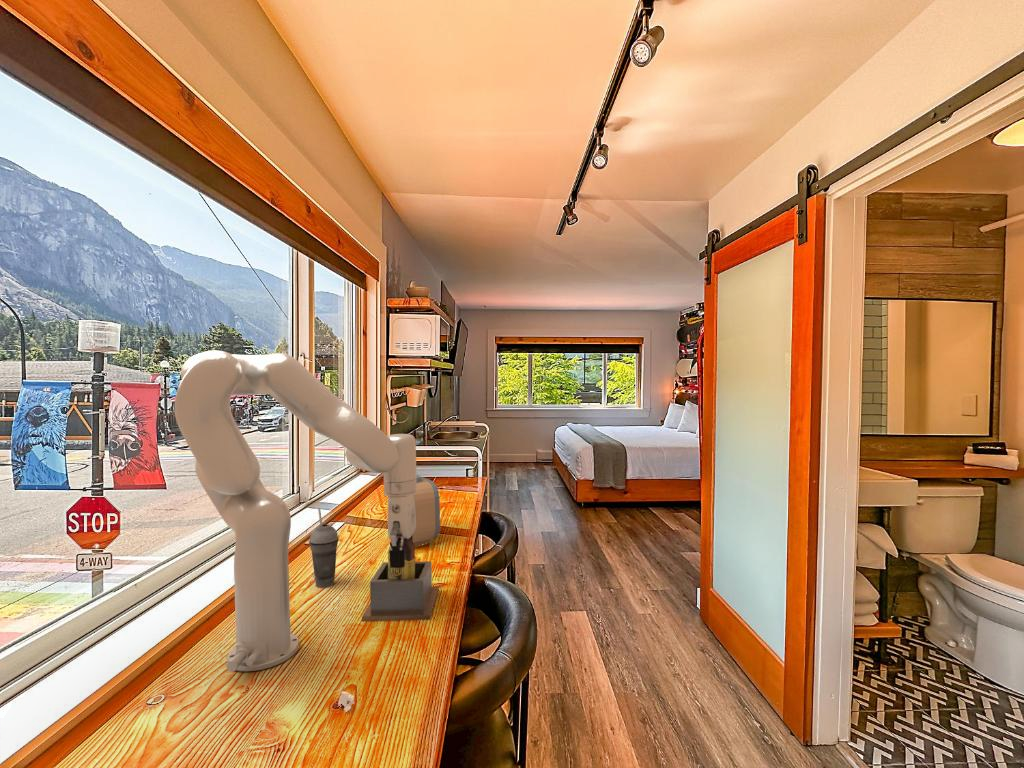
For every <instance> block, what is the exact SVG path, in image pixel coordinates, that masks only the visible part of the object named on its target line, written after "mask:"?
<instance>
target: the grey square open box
mask: <svg viewBox="0 0 1024 768" xmlns="http://www.w3.org/2000/svg"><path fill="white" fill-rule="evenodd" d="M432 573H433V572H432V561H431V560H430V561H429V560H426V561H415V579H388V561H387V562H386V561H385V562H384V561H383V562H382V563H381V564H380V566H379V568H378V569H377V571H376V572H375V573H374V576H373V577H372V579H371V580H370V582H369V584H370V585H369V586H370V587H369V594H370V598H369V599H370V601H369V604H368V605H367V607H366V609H365V610H364V613H362V616H361V621H362V622H373V621H375V622H377V621H378V622H380V621H412V620H415V621H417V620H419V621H420V620H423V621H425V620H427V621H428V620H431V618H432V614H433V611H434V608H435V605H436V602H437V597H438V595H439V592H440V586H433V581H432V579H433V578H432V577H433V576H432Z"/></svg>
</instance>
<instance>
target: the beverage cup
mask: <svg viewBox="0 0 1024 768" xmlns="http://www.w3.org/2000/svg"><path fill="white" fill-rule="evenodd" d="M317 510H318V519H319V525H318V526H316V527H315V528H314V529H313V530H312V531H311V533H310V536H309V542H308V544H309V547H310V552H311V558H312V567H313V574H314V577H313V578H314V581H315V582H314V583H315V587H316V588H318V589H319V588H320V589H325V588H329V587H331V586H333V585H334V584H335V578H336V563H337V562H336V561H337V548H338V544H339V535H338V532H337V530H336V529H335V527H333V526H332V525H330V524H326V523H325V524H323V521H322V512H321V507H318V508H317Z"/></svg>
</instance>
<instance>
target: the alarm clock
mask: <svg viewBox="0 0 1024 768" xmlns="http://www.w3.org/2000/svg"><path fill="white" fill-rule="evenodd" d="M416 483H417V492H416V493H415V494H414V499H415V513H416V529H415V531H414V533H413V534H412V536H413V543H414V545H415V546H416V547H420V546H423V545H422V544H425V545H427V544H426V543H429V544H431V543H430V542H432V543H433V540H435V539H436V538H438V537H439V535H440V529H441V516H440V515H441V511H440V509H441V507H440V505H441V504H440V494H439V489H438V487H437V484H436V483H435V482H434V481H432V480H431V479H429V478H426V477H424V476H420V474H417V473H416ZM419 545H420V546H419Z"/></svg>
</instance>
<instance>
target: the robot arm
mask: <svg viewBox="0 0 1024 768" xmlns="http://www.w3.org/2000/svg"><path fill="white" fill-rule="evenodd" d="M180 371H181V372H180V377H181V381H180V383H179V384H178V387H177V390H176V395H175V399H174V417H175V420H176V424H177V425H178V426H177V427H178V428H179V431H180V433H181V435H182V437H183V439H184V440H185V442H186V444H187V446H188V448H189V450H190V452H191V453H192V455H193V457H194V459H195V460H196V461H195V465H194V466H195V467H194V468H195V474H196V476H197V478H198V481H199V482H200V484H201V486H202V488H203V489H204V491H205V493H206V494H207V496H208V497H209V499H210V501H211V502H212V504H213V505H214V507H215V509H216V510H217V512H218V514H219V515H220V517H221V519H223V521H224V522H225V523H224V524H226V525H227V527H229V528H230V530H232V531H233V532H234V533H235V547H234V558H233V578H234V579H233V581H234V608H235V609H234V610H235V612H234V613H235V645H234V647H232V649H230V651H229V652H228V654H227V655H226V657H227V659H226V670H227V671H229V672H230V673H231V672H235V671H238V672H255V671H262V670H266V669H269V668H272V667H275V666H277V665H280V664H282V663H284V662H286V661H288V659H290V658H292V656H294V655H295V654H296V653H297V652H298V650H299V648H300V640H299V637H298V636H297V635H296V634H294V633H291V610H290V609H291V606H290V605H291V603H290V570H289V545H290V537H291V535H290V534H291V527H292V526H291V525H292V520H291V519H292V517H291V513H290V509H289V507H288V505H287V503H286V502H285V501H284V500H283V498H281V497H280V496H278V494H277V495H276V494H275V493H272V492H271V491H269V490H268V489H266V487H265V486H264V484H263V482H262V480H261V479H260V475H261V467H260V462H259V460H258V458H257V456H256V454H255V453H254V452H253V450H252V448H251V447H250V445H249V443H248V442H247V440H246V438H245V436H244V435H243V434H242V433H243V432H241V430H240V428H239V426H238V424H237V421H236V420H235V418H234V416H233V413H232V410H231V399H232V396H255V395H256V396H257V395H258V396H259V395H270V396H271V397H272V398H273V399H274V400H275V401H277V402H278V403H279V404H280V405H281V406H283V407H285V409H286V410H287V411H288V412H290V413H291V414H292V415H293V416H295V418H297V419H298V420H299V421H301V423H302V424H303V425H305V426H306V427H308V429H311V430H312V431H314V432H315V433H317V434H320V435H322V436H324V437H326V438H328V439H330V440H332V441H334V442H336V443H338V444H339V445H341V446H342V447H344V448H346V449H345V456H346V459H347V461H348V462H349V464H350V465H352V466H353V467H355V468H357V469H360V470H364V471H367V472H368V471H369V472H371V473H374V474H383V495H384V496H386V497H387V535H388V536H387V537H388V539H390V542H389V548H390V567H391V568H403V567H404V566H405V555H404V549H403V543H404V538H407V539H409V538H410V537H411V539H412V541H413V536H412V534H413V533H414V531H415V529H416V513H415V499H414V494H415V493H416V492H417V483H416V474H417V448H416V447H417V443H416V438H415V436H414V435H412V434H409V433H394V434H387V435H386V434H385V433H384V431H383V430H381V428H379V426H377V424H375V423H374V422H373V421H371V420H370V419H369V418H367V417H365V415H363V414H362V413H360V412H358V411H357V410H355V409H354V408H353V407H351V406H350V405H349V403H346V402H345V401H343V400H342V399H340V398H339V397H338V395H335V394H334V392H332V391H331V389H329V388H328V387H327V386H326V385H325V384H324V383H322V382H321V381H320V379H318V378H317V377H316V376H315V375H314V374H313V373H311V372H310V370H308V369H307V368H306V367H305V366H304V365H303V364H302V363H301V362H300V361H299V360H297V359H296V358H295V357H294V356H291V355H289V354H288V353H285V352H283V353H282V352H274V353H267V354H233V353H230V352H227V351H223V350H219V349H217V350H214V349H213V350H207V351H203V352H200V353H197V354H196V353H195V354H194V355H192V356H190V357H189V358H188V359H187V360H186V361H185V362H184V363H183V365H182V367H181V370H180ZM399 527H400V528H399ZM397 535H402V536H397ZM397 540H400V542H399V541H397Z"/></svg>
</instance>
